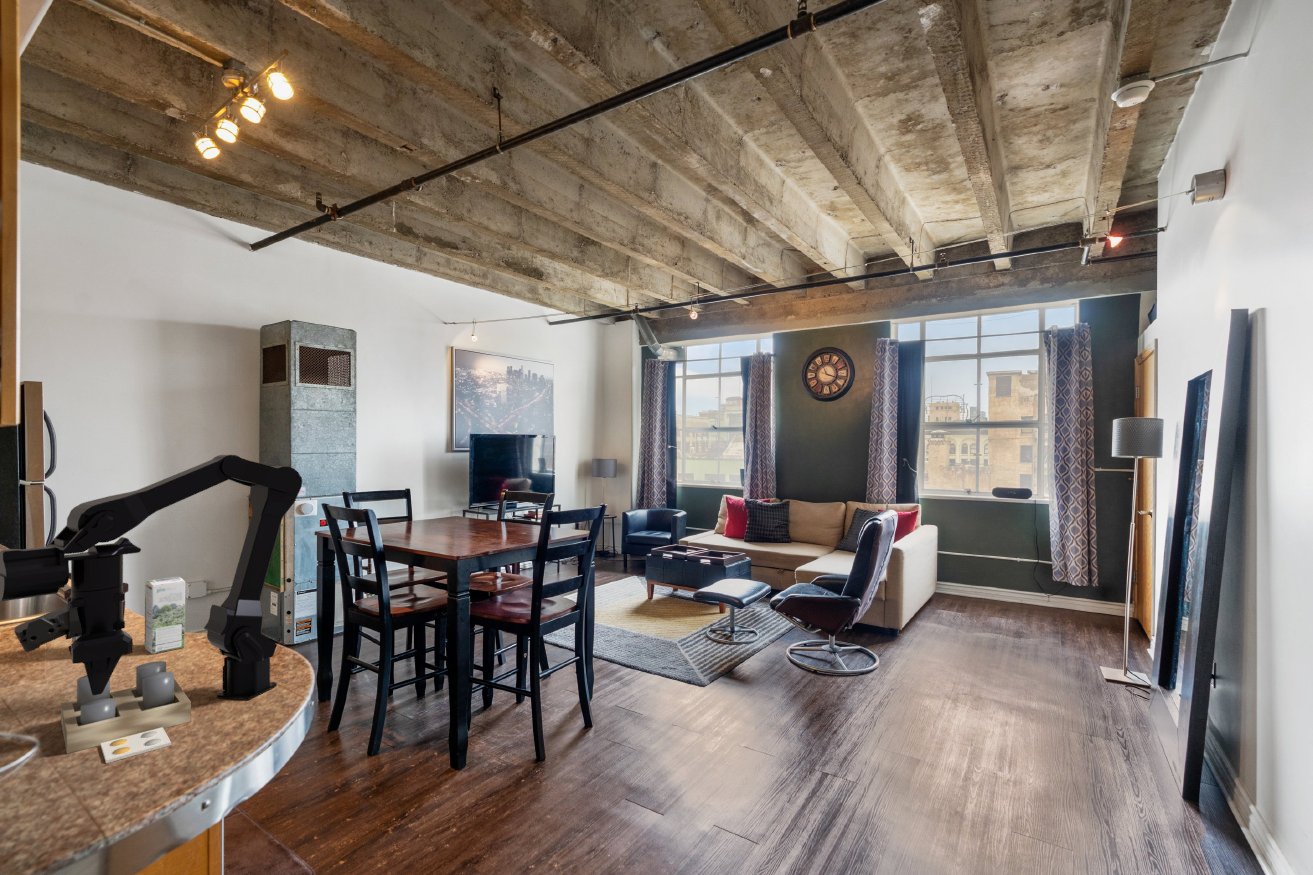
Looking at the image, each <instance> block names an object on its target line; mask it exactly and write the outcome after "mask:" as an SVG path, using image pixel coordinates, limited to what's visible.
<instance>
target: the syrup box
mask: <svg viewBox="0 0 1313 875" xmlns="http://www.w3.org/2000/svg"><path fill="white" fill-rule="evenodd" d="M144 582H145V583H144V584H145V585H144V649H145V651H146V652H148V653H150V654H152V655H153V654H160V653H164V652H169V651H170V652H171V651H173V650H178V649H183V648H185V646H186V645H185V644H186V642H185V641H186V580H184V578H182V577H180V576H173V577H165V578H159V579H152V580H146V581H144ZM181 634H185V635H181Z"/></svg>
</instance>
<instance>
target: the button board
mask: <svg viewBox="0 0 1313 875" xmlns="http://www.w3.org/2000/svg"><path fill="white" fill-rule="evenodd" d="M110 698H112V699H115V718H111V719H107V720H103V721H99V722H95V723H91V724H86V725H82V726H81V709H79V708H77V699H76V700H71V701H65V702H61V703H60V716H61V717H60V724H61V728H62V735H63V740H64V745H65V746H64V747H65V750H66V752H65V753H66V754H71V753H75V752H78V751H79V752H80V751H82V750H86V749H90V748H95V747H98V746H101V743H104V742H108V741H111V740H115V739H119V738H123V737H127V736H131V735H134V734H138V733H142V732H146V731H150V730H154V729H157V728H161V727H163V729H166V728H167V729H168V728H170V727H175V726H179V725H182V724H186V723H189V722H192V702H191V700H190V699H189V697H188V696H187V694H186V693H185V691H184V690H183V688H182V687H181V686H180V684H179V683H178V681H177V680H176V679H175V678H174V701H173V702H171V703H169V704H167V705H164V706H160V707H155V708H144V707H143V695H137V694H136V686H134V687H130V688H125V689H121V690H116V691H112V692H111V691H110Z"/></svg>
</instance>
